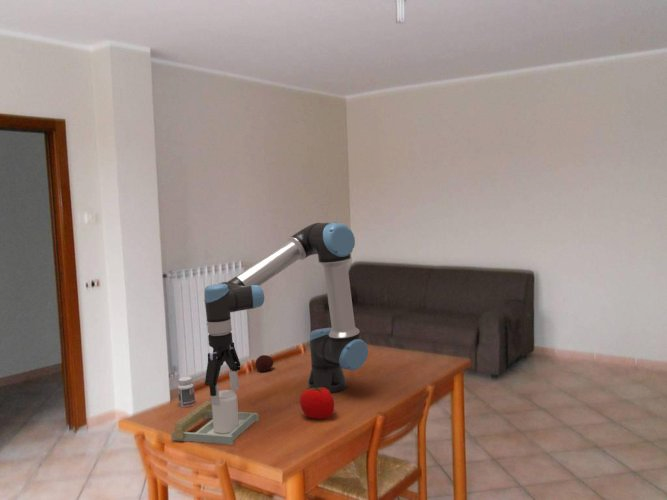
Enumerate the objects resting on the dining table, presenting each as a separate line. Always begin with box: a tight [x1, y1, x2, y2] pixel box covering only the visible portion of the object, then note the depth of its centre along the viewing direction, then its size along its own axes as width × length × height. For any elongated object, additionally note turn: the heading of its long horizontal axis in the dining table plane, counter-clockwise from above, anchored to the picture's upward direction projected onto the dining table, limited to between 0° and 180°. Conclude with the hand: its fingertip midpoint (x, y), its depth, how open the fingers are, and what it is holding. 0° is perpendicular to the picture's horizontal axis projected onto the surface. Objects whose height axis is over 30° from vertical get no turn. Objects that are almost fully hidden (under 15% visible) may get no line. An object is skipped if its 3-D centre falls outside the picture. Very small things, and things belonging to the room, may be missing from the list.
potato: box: [255, 354, 274, 372], centre depth 256 cm, size 7×8×7 cm
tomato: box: [299, 387, 335, 420], centre depth 198 cm, size 11×13×10 cm
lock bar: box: [171, 400, 212, 439], centre depth 193 cm, size 4×23×4 cm, turn 164°
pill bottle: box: [177, 376, 196, 408], centre depth 216 cm, size 6×6×10 cm
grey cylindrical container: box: [212, 389, 239, 433], centre depth 189 cm, size 8×8×12 cm
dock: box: [170, 411, 259, 446], centre depth 191 cm, size 21×20×2 cm
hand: (225, 397), depth 189 cm, fingers open, 13 cm apart
